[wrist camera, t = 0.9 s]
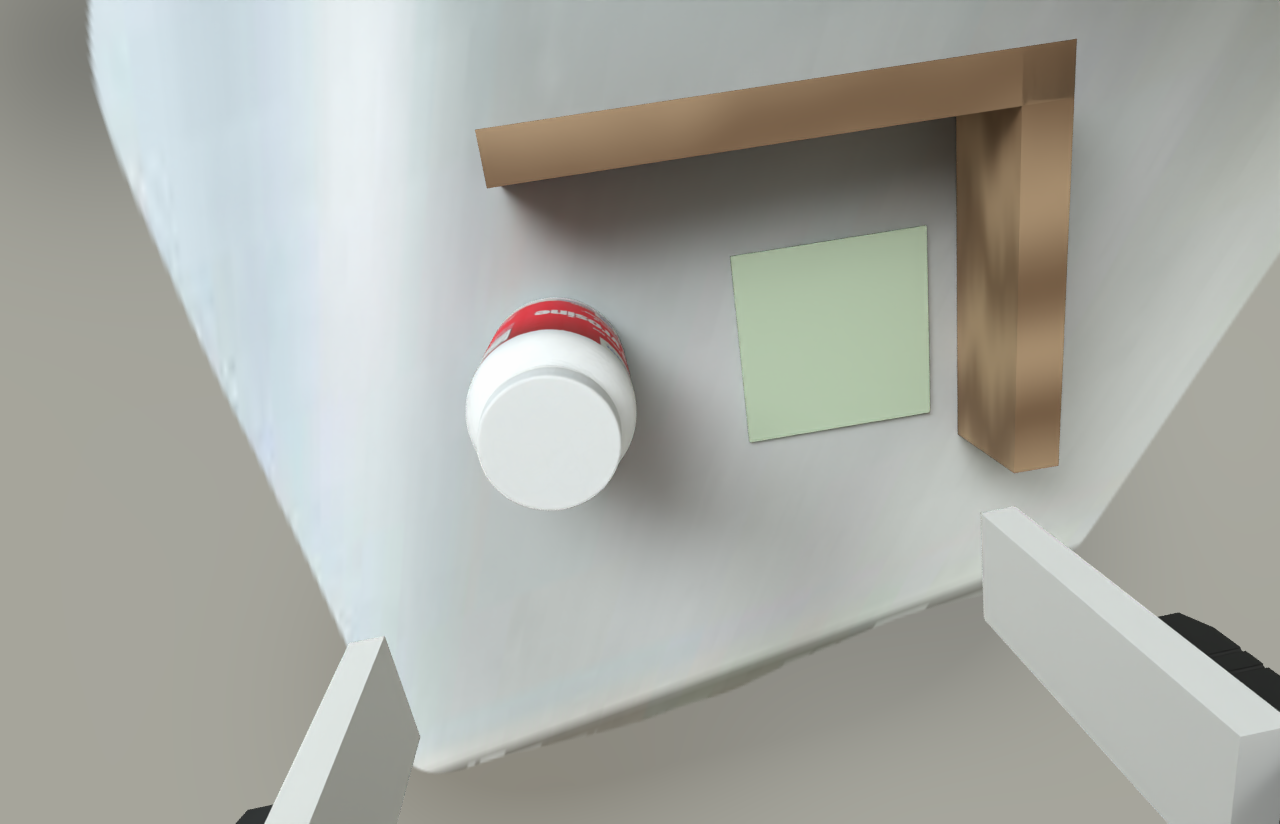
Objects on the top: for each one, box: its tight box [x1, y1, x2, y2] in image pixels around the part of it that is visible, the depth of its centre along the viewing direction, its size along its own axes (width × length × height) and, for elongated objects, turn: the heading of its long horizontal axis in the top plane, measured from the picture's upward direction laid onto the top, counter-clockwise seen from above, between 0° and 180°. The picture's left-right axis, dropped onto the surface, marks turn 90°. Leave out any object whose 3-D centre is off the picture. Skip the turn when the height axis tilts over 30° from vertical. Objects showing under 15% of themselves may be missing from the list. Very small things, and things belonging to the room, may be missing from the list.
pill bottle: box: [466, 297, 637, 511], centre depth 29 cm, size 6×6×11 cm
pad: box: [730, 225, 930, 442], centre depth 35 cm, size 9×9×1 cm
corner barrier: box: [475, 39, 1077, 473], centre depth 32 cm, size 17×22×5 cm
